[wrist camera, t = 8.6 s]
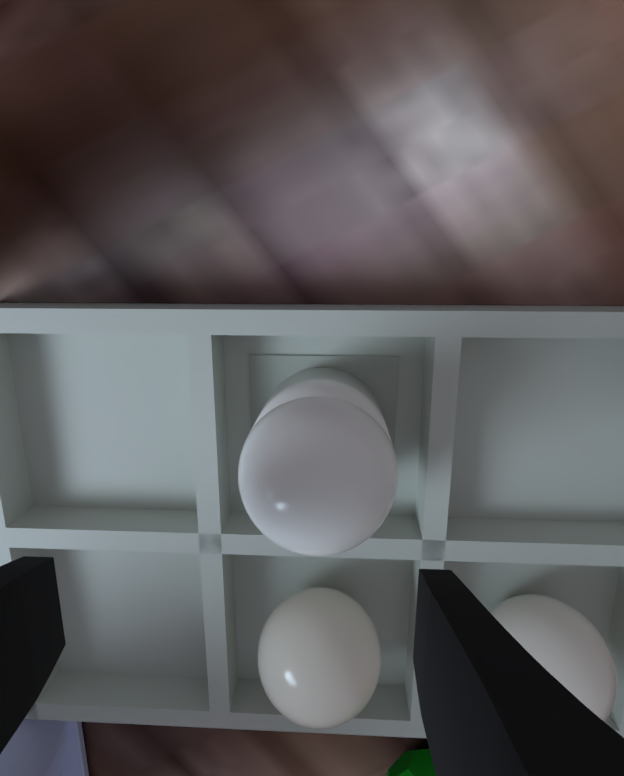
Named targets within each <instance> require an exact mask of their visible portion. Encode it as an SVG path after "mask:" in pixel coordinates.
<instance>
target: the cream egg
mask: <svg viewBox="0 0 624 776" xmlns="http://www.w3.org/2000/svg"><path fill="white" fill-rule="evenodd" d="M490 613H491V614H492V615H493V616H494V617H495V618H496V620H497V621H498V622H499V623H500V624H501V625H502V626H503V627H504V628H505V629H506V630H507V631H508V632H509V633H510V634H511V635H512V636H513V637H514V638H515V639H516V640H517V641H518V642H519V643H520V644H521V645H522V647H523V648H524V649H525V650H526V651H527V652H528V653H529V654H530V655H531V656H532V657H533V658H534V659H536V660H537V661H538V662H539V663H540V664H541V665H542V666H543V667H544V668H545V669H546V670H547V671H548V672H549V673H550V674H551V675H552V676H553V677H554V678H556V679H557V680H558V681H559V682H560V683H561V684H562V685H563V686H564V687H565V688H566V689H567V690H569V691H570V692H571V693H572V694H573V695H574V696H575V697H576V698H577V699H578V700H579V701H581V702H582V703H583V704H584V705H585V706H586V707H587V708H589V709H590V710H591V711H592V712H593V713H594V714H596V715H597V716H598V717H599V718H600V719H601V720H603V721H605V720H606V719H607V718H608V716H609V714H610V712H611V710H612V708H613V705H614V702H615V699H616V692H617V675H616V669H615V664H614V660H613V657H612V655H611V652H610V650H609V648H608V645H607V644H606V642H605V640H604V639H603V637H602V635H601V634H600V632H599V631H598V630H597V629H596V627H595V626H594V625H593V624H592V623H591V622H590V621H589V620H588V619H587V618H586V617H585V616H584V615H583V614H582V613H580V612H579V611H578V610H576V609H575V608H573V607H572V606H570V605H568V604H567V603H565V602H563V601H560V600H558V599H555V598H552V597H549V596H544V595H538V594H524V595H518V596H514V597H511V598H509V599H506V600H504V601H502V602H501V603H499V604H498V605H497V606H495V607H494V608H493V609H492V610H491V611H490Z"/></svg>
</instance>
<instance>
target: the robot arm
mask: <svg viewBox="0 0 624 776" xmlns="http://www.w3.org/2000/svg"><path fill="white" fill-rule="evenodd" d="M65 645H66V643H65V635H64V628H63V621H62V614H61V607H60V600H59V593H58V586H57V578H56V571H55V564H54V557H32V556H23V557H21V558H18V559H16V560H14V561H11V562H9V563H7V564H4V565H2V566H0V776H89V772H88V765H87V758H86V751H85V744H84V737H83V731H82V724H81V722H79V721H58V720H37V719H24V718H25V717H26V715H27V714H28V712H29V711H30V709H31V708H32V706H33V705H34V703H35V702H36V700H37V699H38V697H39V695H40V693H41V691H42V689H43V688H44V686H45V684H46V682H47V680H48V678H49V677H50V675H51V673H52V671H53V669H54V667H55V665H56V663H57V661H58V659H59V657H60V655H61V653H62V651H63V649H64V647H65ZM413 662H414V670H415V677H416V684H417V691H418V698H419V705H420V711H421V717H422V721H423V725H424V729H425V733H426V737H427V741H428V745H429V750H430V754H431V758H432V762H433V766H434V770H435V774H436V776H624V738H623V737H622V736H621V735H620V734H619V733H617V732H616V731H615V730H614V729H612V728H611V727H610V726H609V725H608V724H606V723H605V722H604V721H603V720H601V719H600V718H599V717H598V716H597V715H596V714H594V713H593V712H592V711H591V710H590V709H589V708H587V707H586V706H585V705H584V704H583V703H582V702H581V701H579V700H578V699H577V698H576V697H575V696H574V695H573V694H572V693H571V692H570V691H569V690H567V689H566V688H565V687H564V686H563V685H562V684H561V683H560V682H559V681H558V680H557V679H556V678H554V677H553V676H552V675H551V674H550V673H549V672H548V671H547V670H546V669H545V668H544V667H543V666H542V665H541V664H540V663H539V662H538V661H537V660H536V659H534V658H533V657H532V656H531V655H530V654H529V653H528V652H527V651H526V650H525V649H524V648H523V647H522V645H521V644H520V643H519V642H518V641H517V640H516V639H515V638H514V637H513V636H512V635H511V634H510V633H509V632H508V631H507V630H506V629H505V628H504V627H503V626H502V625H501V624H500V623H499V622H498V621H497V620H496V618H495V617H494V616H493V615H492V614H491V613H490V612H489V611H488V610H487V609H486V608H485V606H484V605H483V604H482V603H481V602H480V601H479V600H478V599H477V598H476V597H475V595H474V594H473V593H472V592H471V591H470V590H469V589H468V588H467V587H466V586H465V584H464V583H463V582H462V581H461V580H460V579H459V578H458V577H457V576H456V575H455V574H454V572H453V571H452V570H442V569H419V575H418V590H417V605H416V619H415V634H414V649H413Z"/></svg>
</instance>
